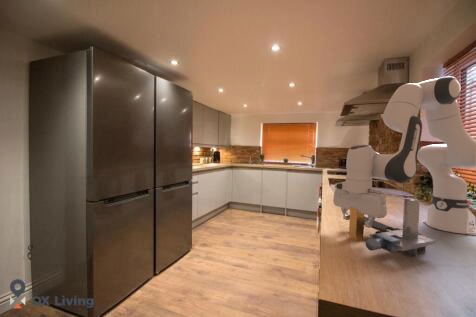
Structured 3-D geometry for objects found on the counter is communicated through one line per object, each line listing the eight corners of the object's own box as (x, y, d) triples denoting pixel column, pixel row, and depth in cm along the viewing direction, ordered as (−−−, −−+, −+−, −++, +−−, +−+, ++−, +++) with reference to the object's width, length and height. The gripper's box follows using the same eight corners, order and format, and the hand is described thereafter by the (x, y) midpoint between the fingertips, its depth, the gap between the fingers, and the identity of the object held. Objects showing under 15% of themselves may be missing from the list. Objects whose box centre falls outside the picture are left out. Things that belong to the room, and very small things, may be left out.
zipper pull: (355, 212, 95) (429, 229, 75) (354, 226, 96) (428, 247, 76) (344, 216, 90) (421, 235, 70) (344, 231, 90) (420, 255, 70)
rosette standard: (400, 246, 78) (403, 196, 77) (434, 258, 68) (437, 202, 68) (354, 255, 69) (356, 199, 68) (386, 271, 60) (389, 206, 59)
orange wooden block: (356, 237, 85) (357, 206, 85) (363, 239, 82) (364, 208, 82) (348, 238, 84) (350, 207, 83) (355, 241, 81) (357, 209, 81)
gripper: (391, 191, 74) (390, 231, 74) (342, 183, 93) (341, 215, 93) (379, 192, 72) (377, 233, 72) (331, 183, 91) (330, 216, 91)
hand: (356, 223), depth 83 cm, fingers open, 8 cm apart
